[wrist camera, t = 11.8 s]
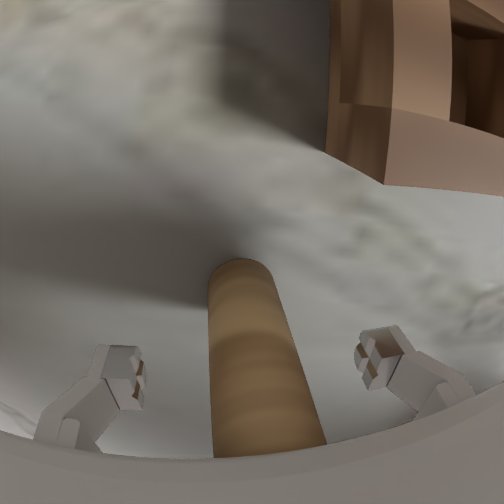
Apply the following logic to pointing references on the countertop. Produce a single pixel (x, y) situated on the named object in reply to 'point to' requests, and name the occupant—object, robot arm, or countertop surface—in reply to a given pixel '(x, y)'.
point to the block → (419, 92)
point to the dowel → (255, 368)
